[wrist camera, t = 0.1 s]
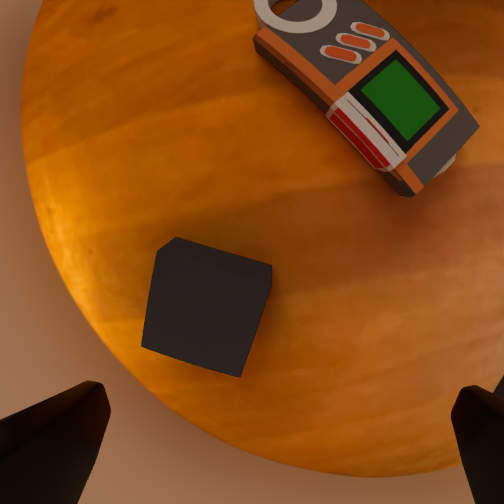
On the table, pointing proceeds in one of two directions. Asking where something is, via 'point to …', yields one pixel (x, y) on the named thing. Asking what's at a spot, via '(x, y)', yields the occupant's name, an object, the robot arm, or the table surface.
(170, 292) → the dark grey square block
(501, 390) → the flat black pad
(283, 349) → the table surface
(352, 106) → the electronic device
